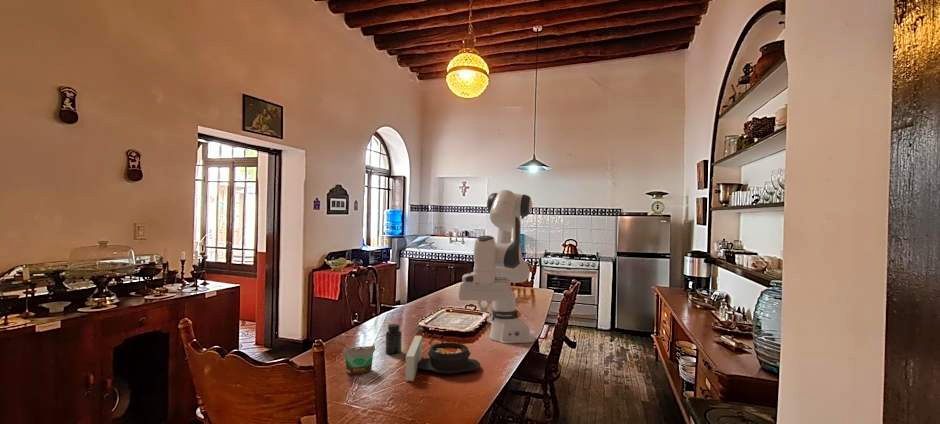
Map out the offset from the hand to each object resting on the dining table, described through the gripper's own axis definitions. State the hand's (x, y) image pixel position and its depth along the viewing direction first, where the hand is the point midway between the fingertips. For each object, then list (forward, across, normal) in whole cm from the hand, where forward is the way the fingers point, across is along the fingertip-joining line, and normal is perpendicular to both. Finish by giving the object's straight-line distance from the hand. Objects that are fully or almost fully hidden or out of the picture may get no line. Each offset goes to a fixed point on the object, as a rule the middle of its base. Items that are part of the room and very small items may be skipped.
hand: (483, 311), depth 175 cm
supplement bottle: (+23, +39, -18) cm, 48 cm away
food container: (+23, +47, +8) cm, 53 cm away
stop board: (+23, +27, 0) cm, 36 cm away
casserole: (+23, +14, +1) cm, 27 cm away
